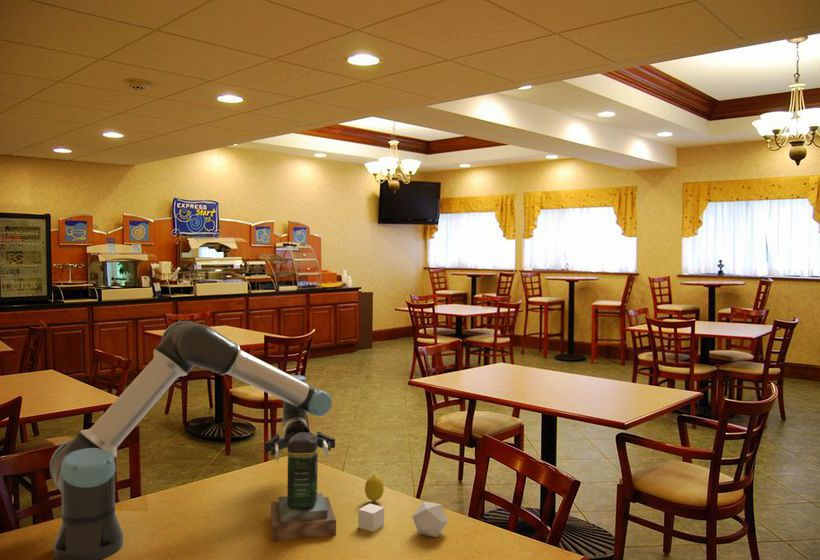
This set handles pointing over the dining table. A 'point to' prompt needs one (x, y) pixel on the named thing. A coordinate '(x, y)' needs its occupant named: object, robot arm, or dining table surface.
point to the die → (430, 519)
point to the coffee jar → (302, 470)
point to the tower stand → (302, 520)
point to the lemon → (374, 488)
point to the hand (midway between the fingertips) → (302, 453)
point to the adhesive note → (371, 517)
